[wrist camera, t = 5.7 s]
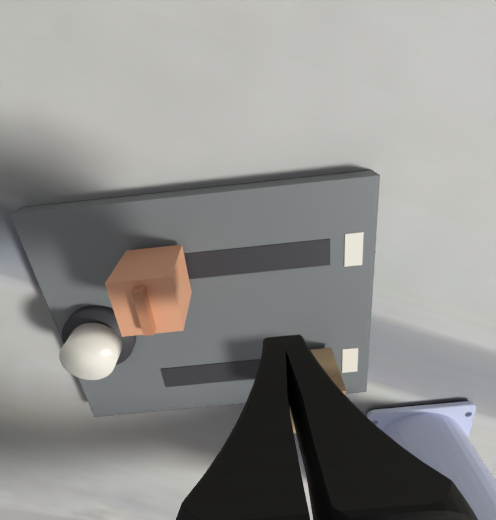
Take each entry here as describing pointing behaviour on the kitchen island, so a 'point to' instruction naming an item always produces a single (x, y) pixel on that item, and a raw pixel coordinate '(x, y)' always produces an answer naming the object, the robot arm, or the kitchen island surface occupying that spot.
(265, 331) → the panel
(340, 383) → the oak knob
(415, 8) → the kitchen island surface
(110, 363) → the button
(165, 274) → the terracotta knob
